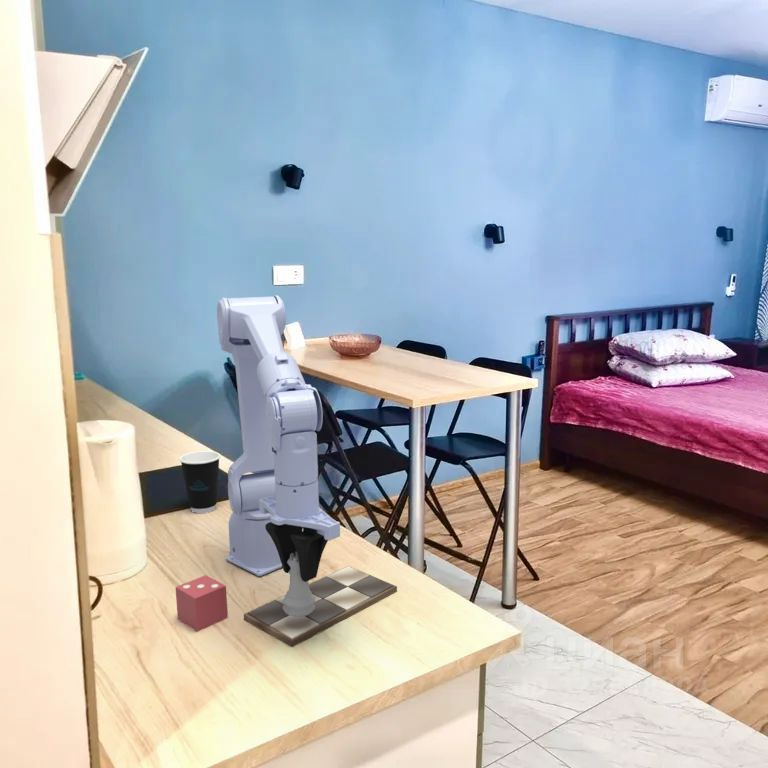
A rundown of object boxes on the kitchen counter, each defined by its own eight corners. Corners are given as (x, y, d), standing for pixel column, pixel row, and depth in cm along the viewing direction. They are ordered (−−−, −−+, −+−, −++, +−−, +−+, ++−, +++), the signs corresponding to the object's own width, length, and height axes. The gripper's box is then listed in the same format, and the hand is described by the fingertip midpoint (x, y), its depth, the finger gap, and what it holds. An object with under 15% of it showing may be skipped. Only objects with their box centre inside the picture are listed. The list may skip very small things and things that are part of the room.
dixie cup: (212, 499, 150) (209, 448, 147) (230, 509, 144) (227, 456, 141) (176, 508, 145) (172, 455, 143) (193, 519, 139) (189, 465, 136)
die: (177, 619, 102) (175, 586, 101) (208, 606, 106) (205, 574, 105) (197, 632, 99) (195, 598, 98) (227, 618, 102) (225, 585, 101)
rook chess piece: (297, 599, 101) (297, 546, 100) (321, 608, 99) (322, 553, 98) (275, 611, 98) (275, 556, 97) (300, 621, 95) (301, 564, 94)
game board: (243, 619, 102) (243, 612, 101) (348, 570, 116) (348, 564, 116) (291, 647, 94) (291, 640, 94) (397, 591, 109) (396, 585, 109)
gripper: (239, 475, 97) (244, 568, 100) (309, 500, 87) (312, 602, 90) (280, 463, 102) (284, 552, 105) (351, 485, 92) (353, 583, 95)
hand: (300, 574), depth 98 cm, fingers closed on rook chess piece, 3 cm apart
